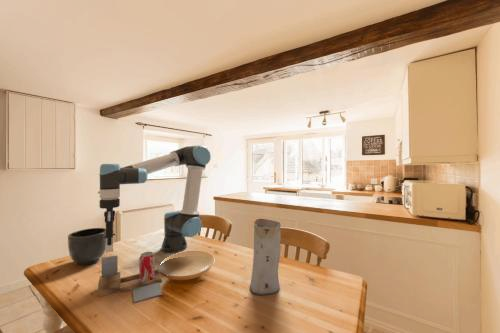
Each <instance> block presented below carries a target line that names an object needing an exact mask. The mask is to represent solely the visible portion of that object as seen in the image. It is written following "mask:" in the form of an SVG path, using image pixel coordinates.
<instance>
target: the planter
mask: <svg viewBox="0 0 500 333" xmlns="http://www.w3.org/2000/svg"><path fill="white" fill-rule="evenodd" d="M105 236H106V227H93V228H84V229H80V230H76V231H74V232H71V233H69V234H68V236H67V248H68V253H69V256H70V259H71V260H72V261H73V262H75V263H77V264H78V265H80V266H88V265H92V264H95V263H97V262H98V261H99V260H100V258H102V256H103V255H104V254H105V253H106V238H104V237H105Z"/></svg>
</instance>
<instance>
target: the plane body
mask: <svg viewBox="0 0 500 333" xmlns="http://www.w3.org/2000/svg"><path fill="white" fill-rule="evenodd" d="M118 272H119V274H118V275H115V276H110V277H106V278H100V277H99V278H98V282H97V283H98V284H97V285H98V287H97V288H98V289H97V290H98V291H97V292H98V293H97V294H98V297H101V296H106V295H109V294H112V293H116V292H120V293H123V292H128V291H133V289H135V288H138V287H142V286H146V285H150V284H154V283H162V280H163V279H162V277H159V278H154V279H153V280H150V281H146V282H139V283H134V284H131V285H126V286H122V287H121V283H122V282H126V281H131V280H135V279H140V276H139V273H136V274H132V275H128V276H123V277H121V271H118ZM159 273H160V270H159V269H155V275H156V274H159Z"/></svg>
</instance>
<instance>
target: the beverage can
mask: <svg viewBox="0 0 500 333" xmlns="http://www.w3.org/2000/svg"><path fill="white" fill-rule="evenodd" d="M155 256H156V255H155V254H154V252H152V251H145V252H142V253H141V254H140V257H139V264H138V265H139V273H138V274H139V276H140V278H139V282H140V283H142V282H146V281H150V280H154V279H156V278H155V276H156V274H155V270H156V269H155V264H156V263H155V262H156V261H155Z"/></svg>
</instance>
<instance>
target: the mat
mask: <svg viewBox="0 0 500 333" xmlns="http://www.w3.org/2000/svg"><path fill="white" fill-rule="evenodd" d="M159 283H160V282H159ZM159 283H154V284H150V285H146V286H142V287H138V288H135V289H132V298H133V304H135V303H138V302H143V301H145V300H149V299H153V298H156V297H159V296H162V295H163V293H162V290H161V287H160V284H159Z"/></svg>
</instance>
